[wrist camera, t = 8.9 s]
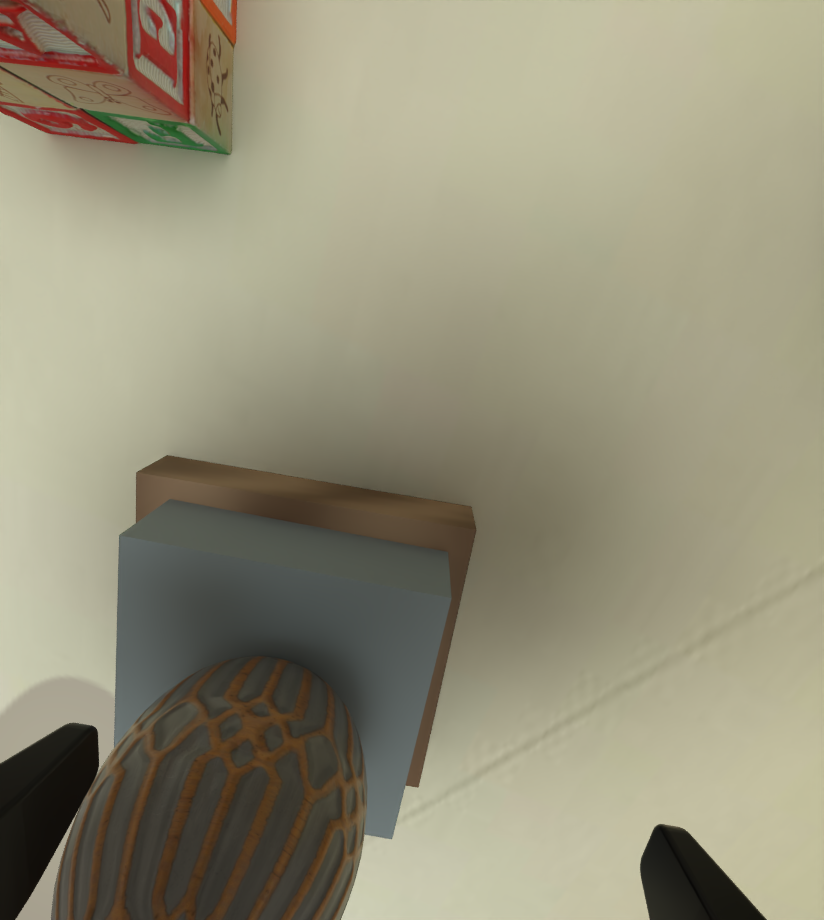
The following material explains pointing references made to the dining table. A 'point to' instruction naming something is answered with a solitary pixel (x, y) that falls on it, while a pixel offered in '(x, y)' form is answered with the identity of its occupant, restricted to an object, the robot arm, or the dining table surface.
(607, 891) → the dining table surface
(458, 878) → the dining table surface
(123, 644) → the tower top
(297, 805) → the vase
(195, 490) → the tower base
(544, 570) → the dining table surface
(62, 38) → the stack of blocks
